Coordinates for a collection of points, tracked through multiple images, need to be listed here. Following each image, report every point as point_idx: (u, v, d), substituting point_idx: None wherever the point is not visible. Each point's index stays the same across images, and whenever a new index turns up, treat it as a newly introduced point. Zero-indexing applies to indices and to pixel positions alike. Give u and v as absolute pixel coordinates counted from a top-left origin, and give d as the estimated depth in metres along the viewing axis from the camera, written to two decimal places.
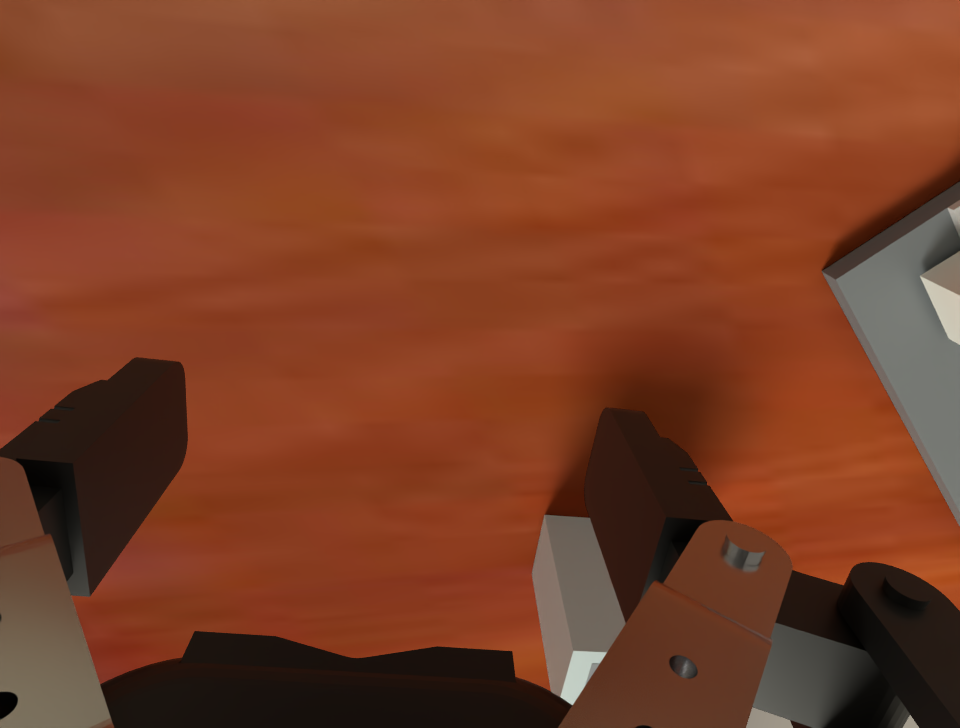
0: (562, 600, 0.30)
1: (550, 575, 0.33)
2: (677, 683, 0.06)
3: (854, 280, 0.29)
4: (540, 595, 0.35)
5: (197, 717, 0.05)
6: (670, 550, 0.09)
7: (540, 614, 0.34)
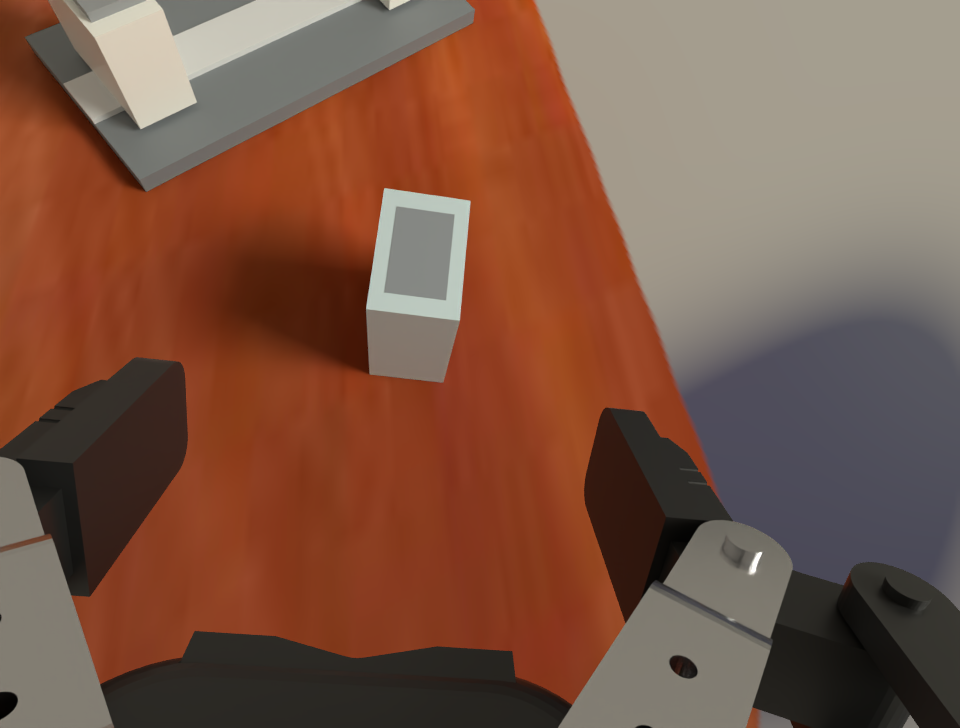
0: (367, 332, 0.33)
1: (388, 354, 0.35)
2: (677, 683, 0.06)
3: (142, 168, 0.40)
4: (429, 365, 0.36)
5: (197, 717, 0.05)
6: (671, 550, 0.09)
7: (441, 361, 0.36)
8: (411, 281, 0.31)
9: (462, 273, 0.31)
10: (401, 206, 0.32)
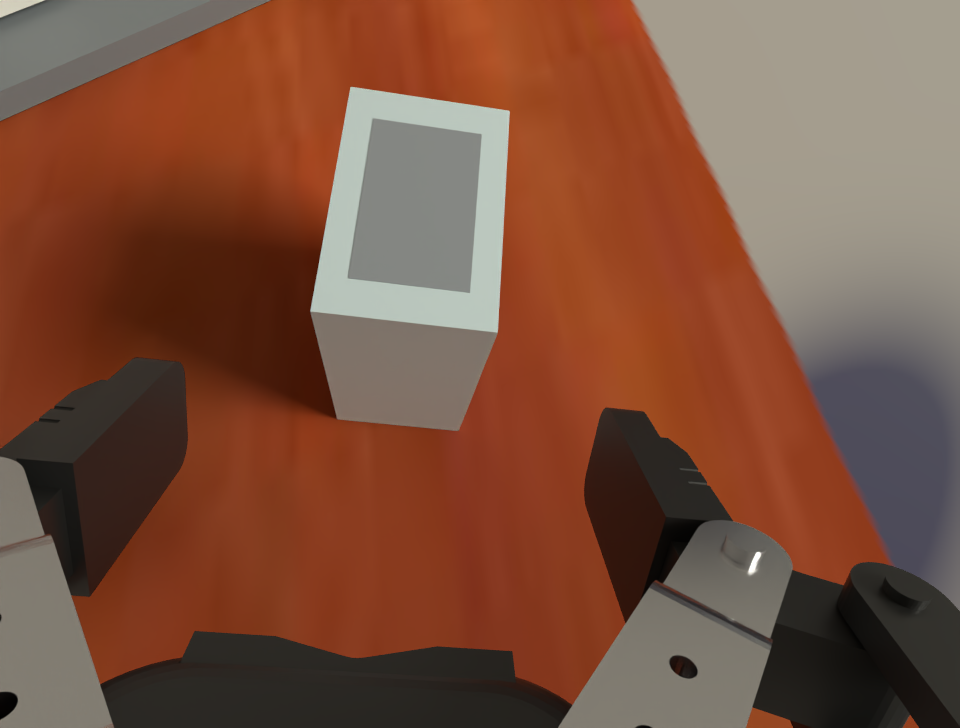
0: None
1: (364, 391, 0.20)
2: (677, 683, 0.06)
3: None
4: (435, 407, 0.21)
5: (198, 717, 0.05)
6: (670, 550, 0.09)
7: (456, 401, 0.20)
8: (401, 255, 0.16)
9: (500, 241, 0.16)
10: (383, 119, 0.17)
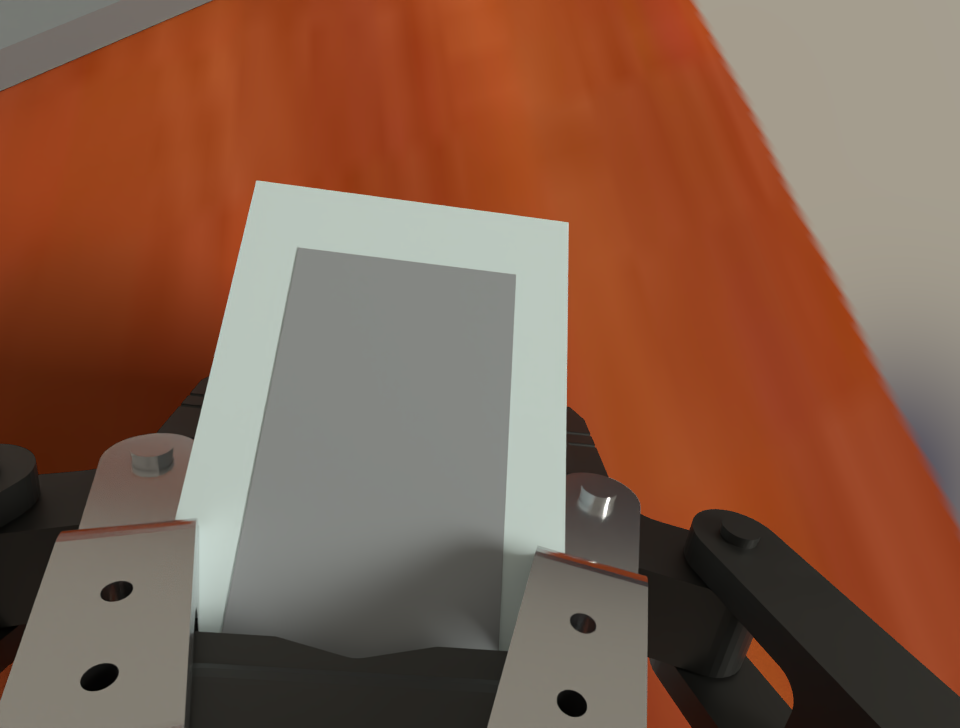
0: None
1: None
2: (579, 640, 0.06)
3: None
4: None
5: (197, 717, 0.05)
6: None
7: None
8: (345, 580, 0.07)
9: (559, 525, 0.08)
10: (318, 249, 0.09)
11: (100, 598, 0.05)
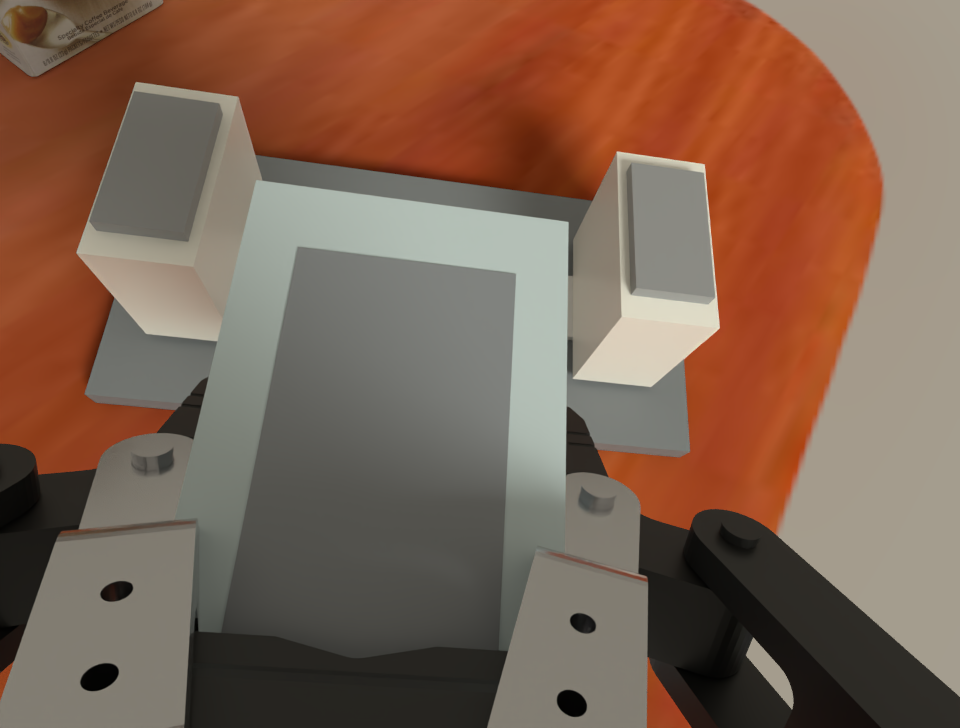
0: None
1: None
2: (580, 640, 0.06)
3: (103, 381, 0.28)
4: None
5: (197, 717, 0.05)
6: None
7: None
8: (344, 580, 0.07)
9: (559, 524, 0.08)
10: (318, 249, 0.09)
11: (100, 598, 0.05)
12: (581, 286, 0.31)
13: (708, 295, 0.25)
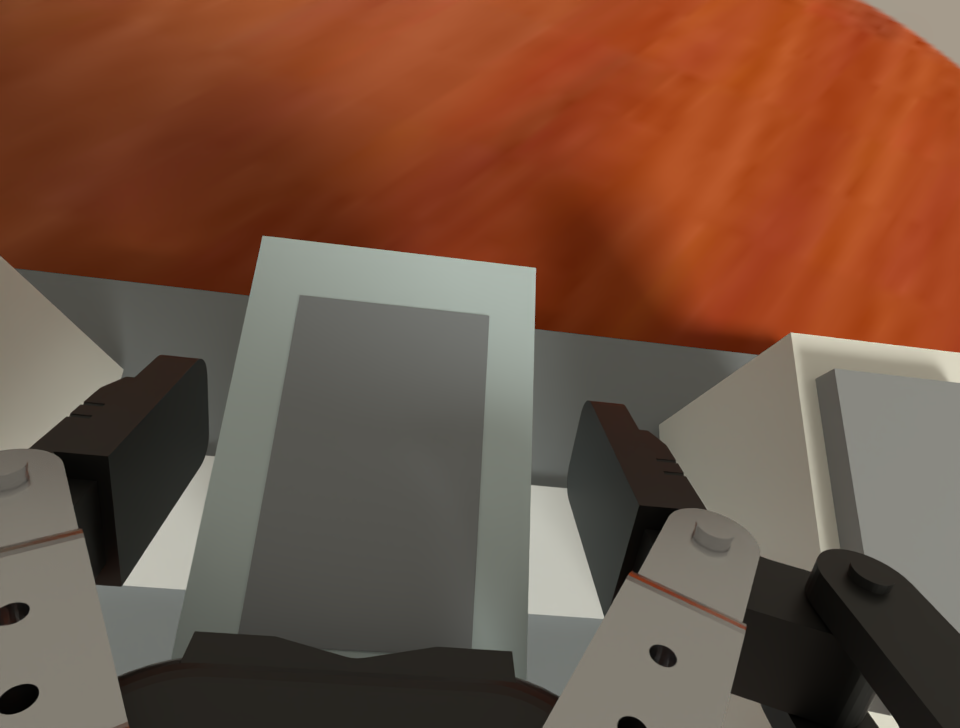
0: None
1: None
2: (657, 671, 0.06)
3: None
4: None
5: (197, 717, 0.05)
6: (644, 538, 0.09)
7: None
8: (342, 583, 0.08)
9: (525, 534, 0.09)
10: (317, 297, 0.10)
11: None
12: None
13: None
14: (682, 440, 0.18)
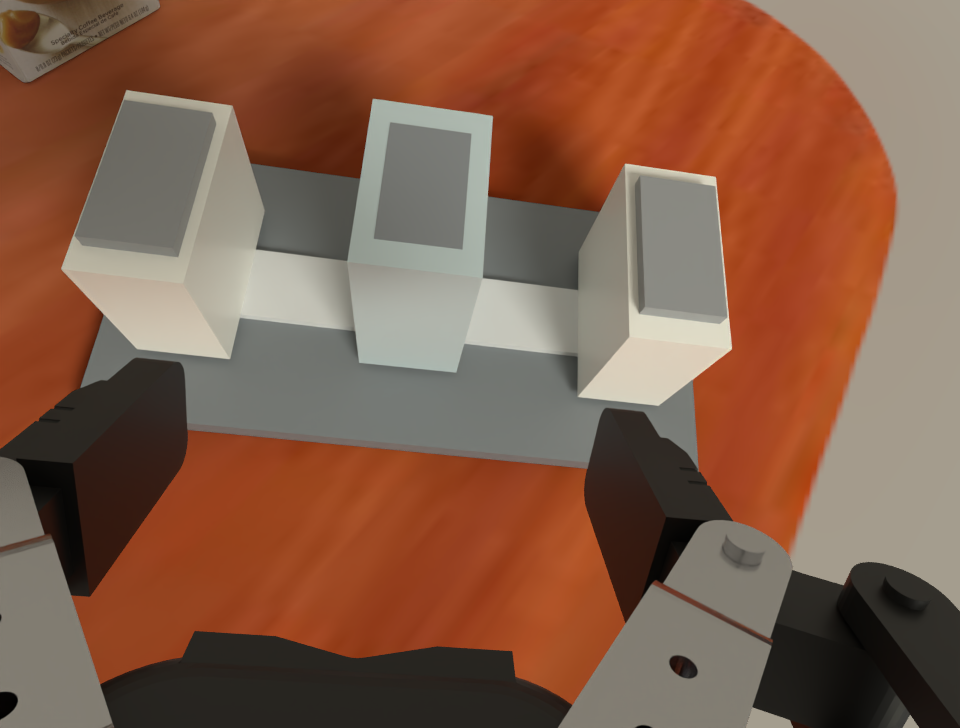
0: None
1: (382, 333, 0.26)
2: (677, 683, 0.06)
3: None
4: (438, 348, 0.27)
5: (197, 717, 0.05)
6: (671, 550, 0.09)
7: (454, 342, 0.26)
8: (412, 223, 0.22)
9: (484, 212, 0.22)
10: (397, 123, 0.23)
11: None
12: (587, 301, 0.30)
13: (720, 315, 0.24)
14: (587, 251, 0.31)
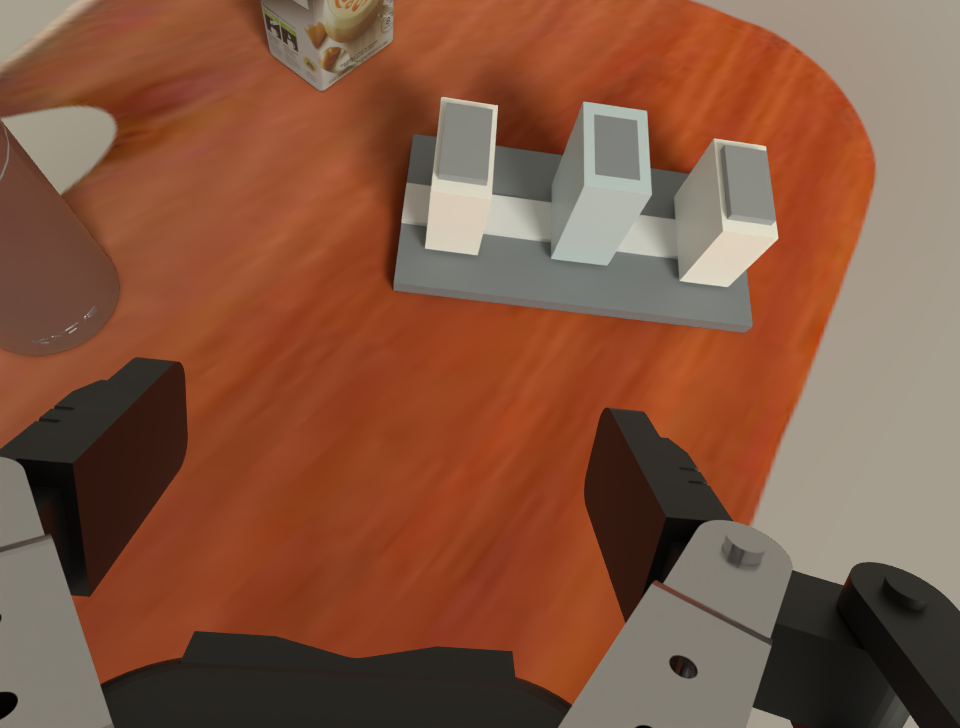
0: (572, 211, 0.43)
1: (577, 235, 0.45)
2: (676, 683, 0.06)
3: (402, 275, 0.47)
4: (605, 245, 0.46)
5: (197, 716, 0.05)
6: (670, 551, 0.09)
7: (616, 241, 0.46)
8: (613, 166, 0.41)
9: (648, 162, 0.42)
10: (598, 114, 0.43)
11: None
12: (684, 223, 0.50)
13: (772, 219, 0.43)
14: (682, 194, 0.51)
